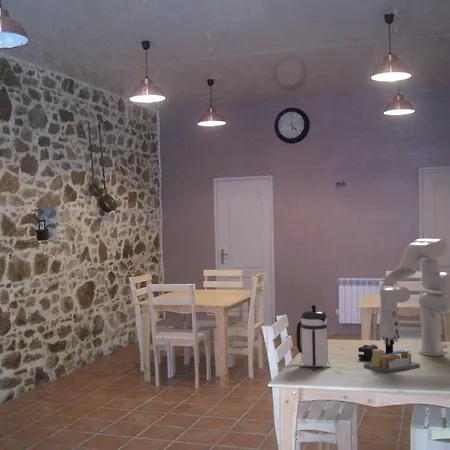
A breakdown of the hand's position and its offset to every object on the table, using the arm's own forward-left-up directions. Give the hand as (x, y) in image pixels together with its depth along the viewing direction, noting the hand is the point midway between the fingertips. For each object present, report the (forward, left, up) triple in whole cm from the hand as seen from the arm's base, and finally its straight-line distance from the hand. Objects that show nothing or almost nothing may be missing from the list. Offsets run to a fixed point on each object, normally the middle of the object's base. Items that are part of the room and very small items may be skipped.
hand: (389, 352), depth 296 cm
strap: (-3, 0, -1) cm, 3 cm away
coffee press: (+29, -21, -7) cm, 37 cm away
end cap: (-4, -19, -8) cm, 21 cm away
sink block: (-2, 0, -7) cm, 7 cm away
